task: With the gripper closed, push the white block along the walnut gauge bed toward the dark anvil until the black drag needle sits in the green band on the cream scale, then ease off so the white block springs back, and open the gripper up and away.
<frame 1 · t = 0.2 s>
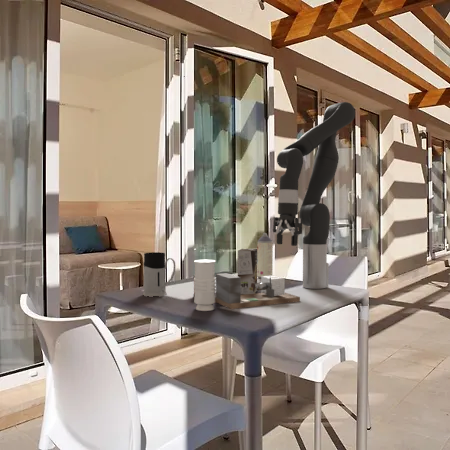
hand: (286, 244, 171), 17 cm above the table, tool pointing down, fingers open, 8 cm apart
coffee box: (247, 292, 168), on the table
gauge bed: (257, 301, 152), on the table
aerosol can: (264, 277, 204), on the table
white block: (268, 285, 153), point 5 cm above the table, slide at 0.0 cm
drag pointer: (270, 286, 149), point 5 cm above the table, slide at 0.0 cm
lighter: (204, 297, 160), on the table
candle: (204, 309, 141), on the table
grey handled cylinder: (160, 295, 163), on the table
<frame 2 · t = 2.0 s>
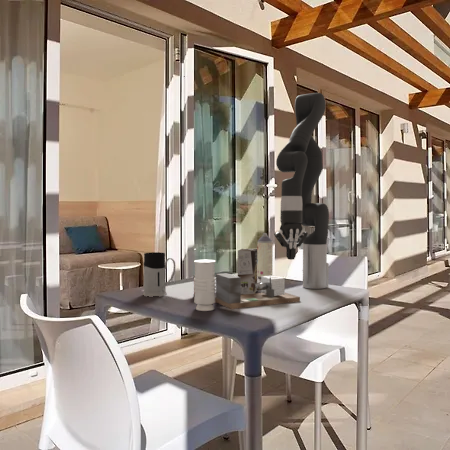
hand: (290, 259, 157), 14 cm above the table, tool pointing down, fingers closed
nothing on the table moved.
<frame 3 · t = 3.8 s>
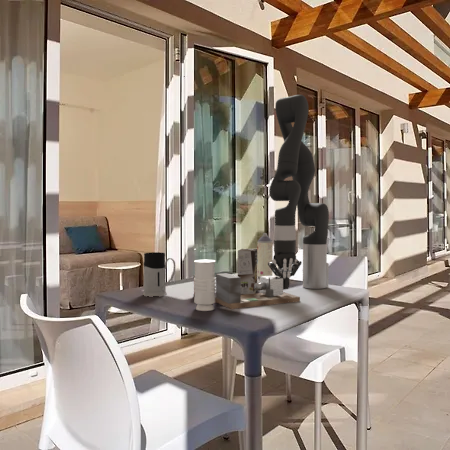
hand: (284, 288, 156), 4 cm above the table, tool pointing down, fingers closed
white block: (266, 285, 153), point 5 cm above the table, slide at 0.6 cm, touching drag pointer, gripper
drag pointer: (269, 286, 149), point 5 cm above the table, slide at 0.3 cm, touching white block
everything else where it was.
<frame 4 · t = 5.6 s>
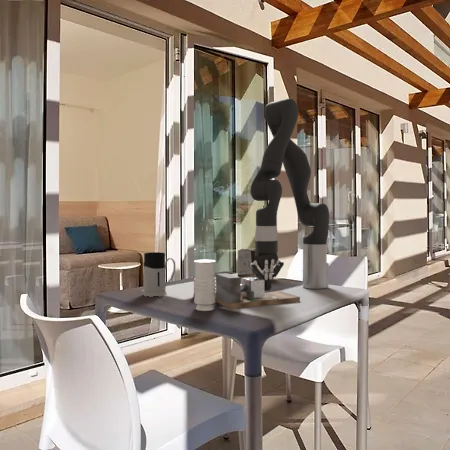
hand: (266, 290, 153), 4 cm above the table, tool pointing down, fingers closed
white block: (247, 287, 150), point 5 cm above the table, slide at 7.9 cm, touching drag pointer, gripper
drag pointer: (250, 288, 146), point 5 cm above the table, slide at 7.6 cm, touching white block
everything else where it was.
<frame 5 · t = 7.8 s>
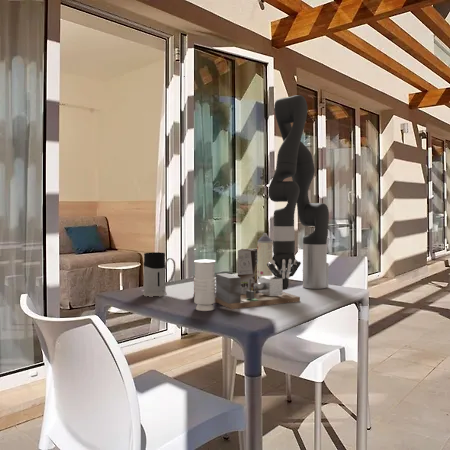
hand: (283, 289, 157), 3 cm above the table, tool pointing down, fingers closed
white block: (266, 286, 153), point 5 cm above the table, slide at 0.8 cm
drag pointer: (250, 288, 146), point 5 cm above the table, slide at 7.6 cm
everything else where it was.
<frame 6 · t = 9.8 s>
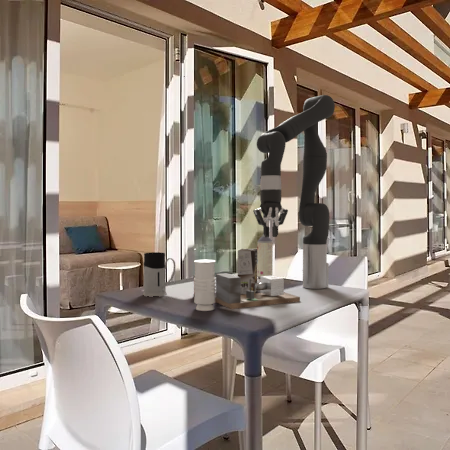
hand: (270, 236, 162), 21 cm above the table, tool pointing down, fingers closed
white block: (267, 285, 153), point 5 cm above the table, slide at 0.3 cm
everything else where it was.
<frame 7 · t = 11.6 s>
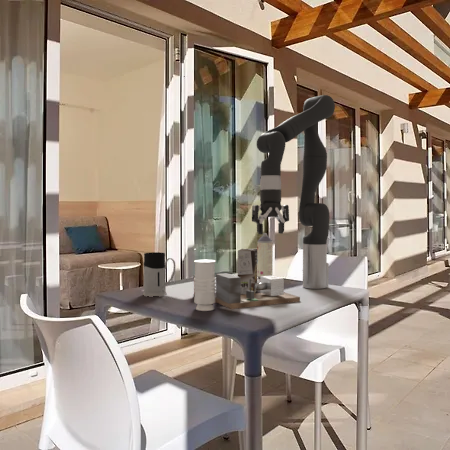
hand: (270, 233, 162), 22 cm above the table, tool pointing down, fingers open, 8 cm apart
nothing on the table moved.
at the end: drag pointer slide at 7.6 cm; white block slide at 0.3 cm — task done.
